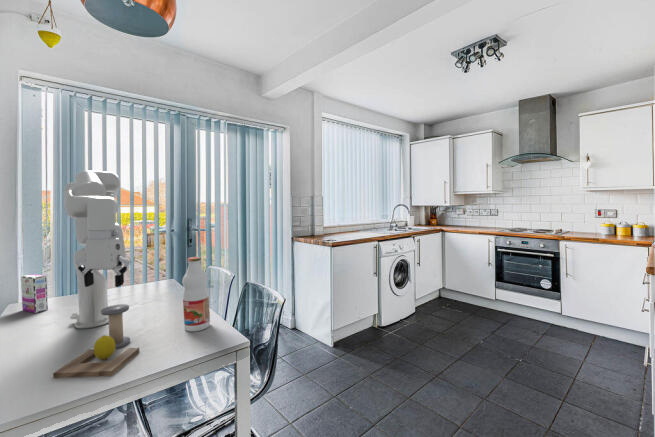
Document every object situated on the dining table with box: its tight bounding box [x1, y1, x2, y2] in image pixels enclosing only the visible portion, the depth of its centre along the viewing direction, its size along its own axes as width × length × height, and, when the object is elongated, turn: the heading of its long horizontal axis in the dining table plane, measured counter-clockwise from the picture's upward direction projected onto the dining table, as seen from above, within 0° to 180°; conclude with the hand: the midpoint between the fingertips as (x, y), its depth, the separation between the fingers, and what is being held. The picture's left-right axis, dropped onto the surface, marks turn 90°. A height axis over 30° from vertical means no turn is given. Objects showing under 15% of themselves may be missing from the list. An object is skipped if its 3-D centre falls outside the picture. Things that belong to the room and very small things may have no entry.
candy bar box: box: [20, 273, 49, 314], centre depth 140 cm, size 11×5×16 cm, turn 68°
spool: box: [101, 303, 131, 350], centre depth 105 cm, size 8×8×13 cm
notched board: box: [52, 347, 140, 379], centre depth 93 cm, size 16×14×2 cm
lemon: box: [93, 334, 116, 361], centre depth 95 cm, size 6×6×8 cm
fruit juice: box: [181, 256, 211, 332], centre depth 119 cm, size 9×9×28 cm
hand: (104, 285), depth 100 cm, fingers open, 9 cm apart
